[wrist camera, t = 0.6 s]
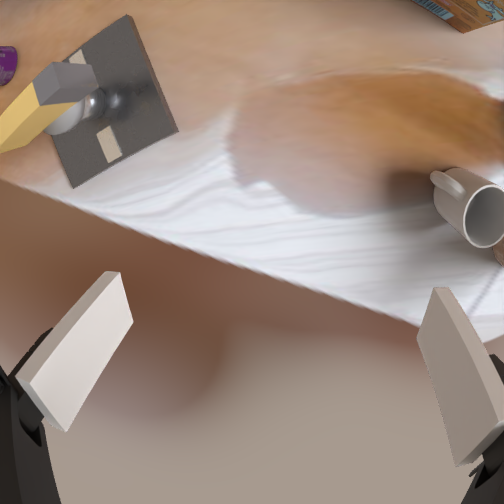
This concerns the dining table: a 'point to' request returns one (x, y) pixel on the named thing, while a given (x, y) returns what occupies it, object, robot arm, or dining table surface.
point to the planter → (499, 251)
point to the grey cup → (470, 205)
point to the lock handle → (47, 104)
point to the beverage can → (7, 63)
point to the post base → (115, 105)
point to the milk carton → (466, 12)
